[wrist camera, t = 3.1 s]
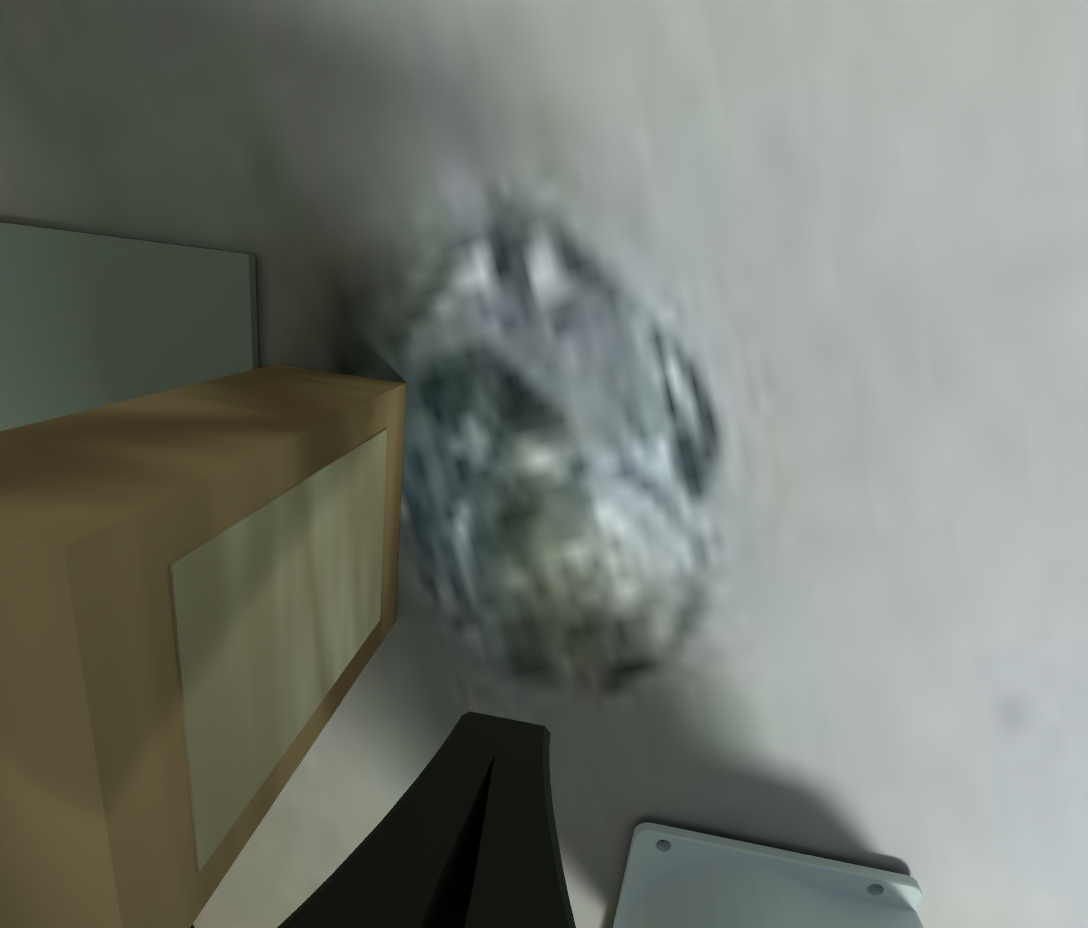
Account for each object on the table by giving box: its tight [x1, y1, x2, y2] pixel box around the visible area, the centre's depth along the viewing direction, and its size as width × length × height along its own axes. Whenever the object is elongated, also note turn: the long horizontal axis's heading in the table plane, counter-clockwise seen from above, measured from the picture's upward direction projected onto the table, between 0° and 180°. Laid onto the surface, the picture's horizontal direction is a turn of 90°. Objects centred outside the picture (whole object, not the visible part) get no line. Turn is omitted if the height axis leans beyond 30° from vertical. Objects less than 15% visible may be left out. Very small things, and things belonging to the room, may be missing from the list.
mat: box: [0, 222, 259, 431], centre depth 19 cm, size 14×14×1 cm
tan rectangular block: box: [0, 364, 406, 928], centre depth 13 cm, size 4×8×11 cm, turn 173°
